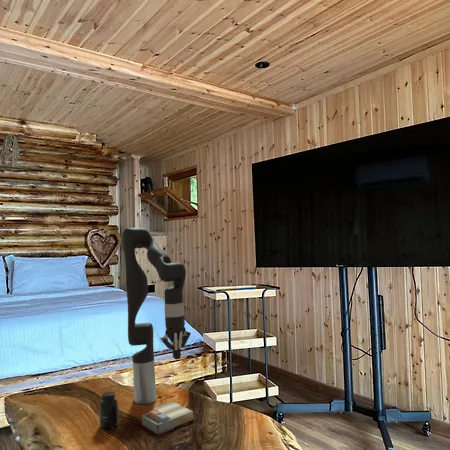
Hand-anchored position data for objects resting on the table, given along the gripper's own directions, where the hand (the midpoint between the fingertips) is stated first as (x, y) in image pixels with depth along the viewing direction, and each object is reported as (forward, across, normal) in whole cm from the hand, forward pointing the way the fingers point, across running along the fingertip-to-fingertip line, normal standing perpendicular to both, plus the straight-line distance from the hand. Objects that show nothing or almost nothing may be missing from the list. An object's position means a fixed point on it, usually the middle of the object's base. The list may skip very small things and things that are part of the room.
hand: (177, 358), depth 161 cm
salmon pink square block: (+20, +9, -2) cm, 22 cm away
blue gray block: (+20, +8, +3) cm, 22 cm away
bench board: (+23, +2, -2) cm, 23 cm away
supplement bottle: (+23, +23, -14) cm, 35 cm away
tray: (+22, +10, +1) cm, 25 cm away
